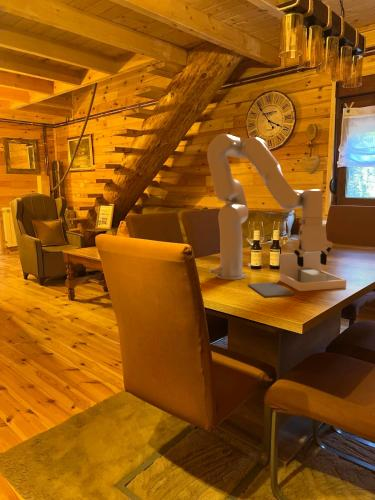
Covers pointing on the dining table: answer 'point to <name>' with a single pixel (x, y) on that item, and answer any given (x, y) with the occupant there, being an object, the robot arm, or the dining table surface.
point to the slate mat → (270, 289)
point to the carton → (309, 261)
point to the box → (310, 275)
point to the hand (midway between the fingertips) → (312, 265)
